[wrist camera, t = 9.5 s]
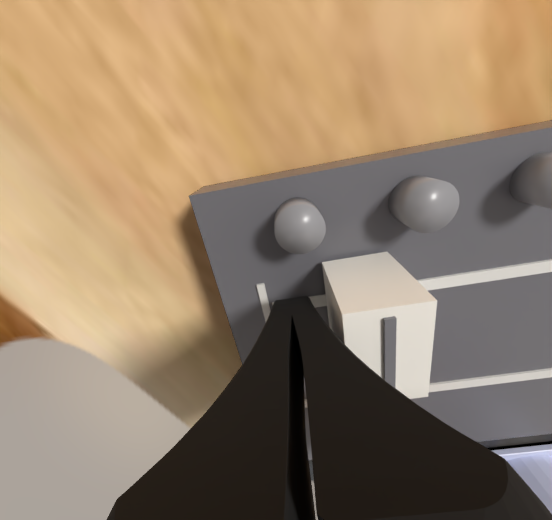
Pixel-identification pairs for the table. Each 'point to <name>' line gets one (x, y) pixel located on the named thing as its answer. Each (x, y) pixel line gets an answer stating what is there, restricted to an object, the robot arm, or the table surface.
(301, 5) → the table surface
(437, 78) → the table surface
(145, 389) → the table surface
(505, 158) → the mixer board
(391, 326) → the fader
